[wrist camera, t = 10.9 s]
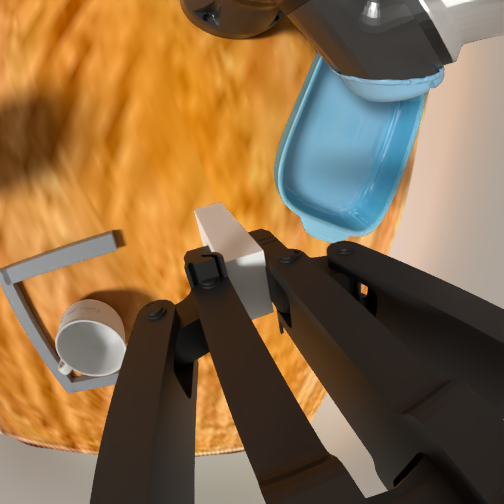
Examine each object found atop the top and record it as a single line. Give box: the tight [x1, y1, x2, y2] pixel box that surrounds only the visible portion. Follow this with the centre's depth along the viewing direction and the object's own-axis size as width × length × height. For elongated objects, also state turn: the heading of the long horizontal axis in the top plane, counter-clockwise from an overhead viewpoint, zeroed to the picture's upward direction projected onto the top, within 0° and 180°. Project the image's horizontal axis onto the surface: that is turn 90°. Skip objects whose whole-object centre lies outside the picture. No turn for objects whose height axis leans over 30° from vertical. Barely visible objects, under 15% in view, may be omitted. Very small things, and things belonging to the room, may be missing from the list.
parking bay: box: [0, 230, 120, 393], centre depth 39 cm, size 21×26×2 cm
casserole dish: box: [274, 52, 425, 243], centre depth 40 cm, size 37×22×7 cm, turn 158°
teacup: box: [55, 299, 127, 376], centre depth 37 cm, size 14×11×8 cm
